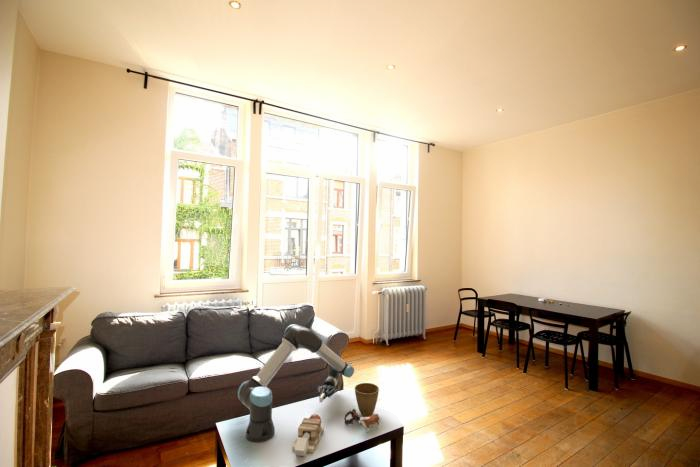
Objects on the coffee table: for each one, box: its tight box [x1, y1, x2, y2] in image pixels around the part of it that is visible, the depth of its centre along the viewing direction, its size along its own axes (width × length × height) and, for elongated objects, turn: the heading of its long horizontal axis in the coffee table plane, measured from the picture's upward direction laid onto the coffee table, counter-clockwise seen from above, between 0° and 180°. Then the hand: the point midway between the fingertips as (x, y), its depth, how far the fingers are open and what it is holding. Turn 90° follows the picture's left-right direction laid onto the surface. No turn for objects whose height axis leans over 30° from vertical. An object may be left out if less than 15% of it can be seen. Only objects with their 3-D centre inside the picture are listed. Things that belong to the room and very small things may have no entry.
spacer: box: [294, 436, 309, 457], centre depth 165 cm, size 6×5×5 cm
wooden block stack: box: [302, 413, 322, 440], centre depth 179 cm, size 20×7×7 cm, turn 170°
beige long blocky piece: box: [291, 417, 325, 454], centre depth 177 cm, size 20×11×8 cm, turn 170°
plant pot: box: [354, 382, 380, 418], centre depth 205 cm, size 15×15×16 cm
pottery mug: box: [343, 408, 363, 426], centre depth 194 cm, size 12×10×8 cm
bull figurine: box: [358, 413, 380, 434], centre depth 188 cm, size 4×13×8 cm, turn 122°
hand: (320, 400), depth 198 cm, fingers closed
